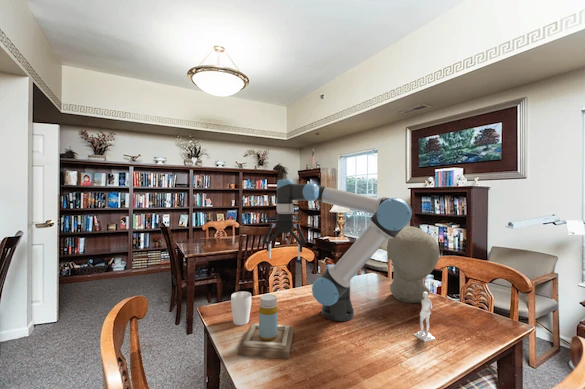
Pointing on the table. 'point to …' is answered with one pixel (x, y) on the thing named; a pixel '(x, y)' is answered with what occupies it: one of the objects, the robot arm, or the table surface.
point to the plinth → (267, 343)
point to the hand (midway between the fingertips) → (284, 258)
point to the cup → (241, 307)
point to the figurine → (425, 315)
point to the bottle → (268, 317)
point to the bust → (411, 263)
